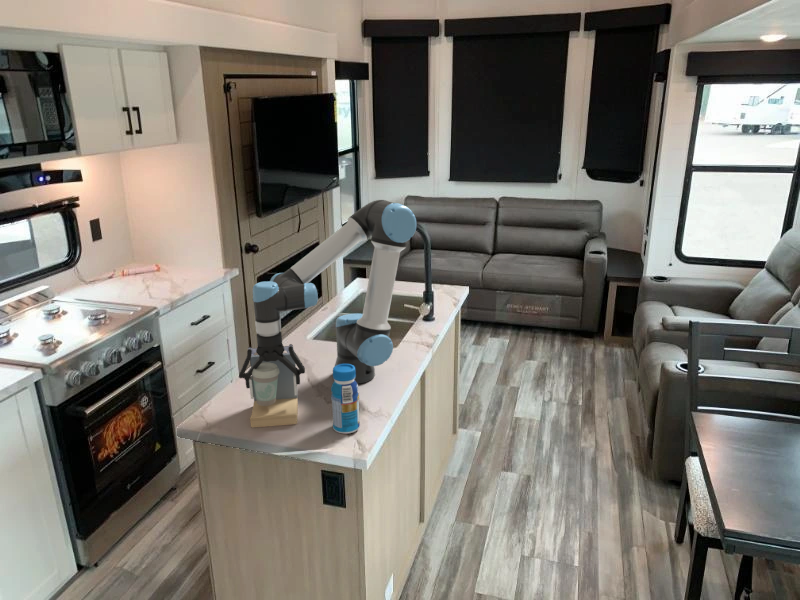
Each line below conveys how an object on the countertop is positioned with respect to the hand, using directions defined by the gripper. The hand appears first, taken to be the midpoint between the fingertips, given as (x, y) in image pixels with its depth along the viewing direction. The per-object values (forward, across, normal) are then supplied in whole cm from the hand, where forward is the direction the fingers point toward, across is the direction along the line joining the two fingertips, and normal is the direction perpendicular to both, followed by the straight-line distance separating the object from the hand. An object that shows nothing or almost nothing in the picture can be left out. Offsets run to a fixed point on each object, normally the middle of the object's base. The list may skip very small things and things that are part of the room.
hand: (274, 395), depth 186 cm
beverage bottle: (+7, -22, +12) cm, 26 cm away
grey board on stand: (+7, 0, -7) cm, 10 cm away
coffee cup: (+2, +3, 0) cm, 4 cm away
